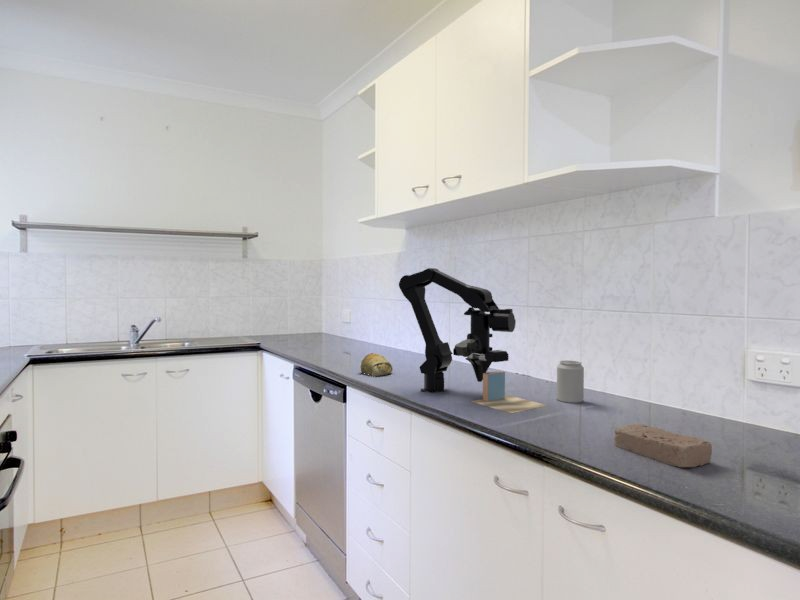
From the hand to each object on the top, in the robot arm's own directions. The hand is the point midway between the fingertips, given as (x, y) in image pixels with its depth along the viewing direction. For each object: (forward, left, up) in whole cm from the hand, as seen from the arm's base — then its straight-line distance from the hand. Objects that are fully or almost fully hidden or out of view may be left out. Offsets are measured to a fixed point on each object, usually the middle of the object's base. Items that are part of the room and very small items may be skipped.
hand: (479, 381), depth 152 cm
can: (+19, +18, -5) cm, 27 cm away
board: (+12, 0, -5) cm, 13 cm away
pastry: (-53, -4, -5) cm, 54 cm away
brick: (+58, -5, -6) cm, 58 cm away
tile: (+6, 0, -4) cm, 7 cm away
